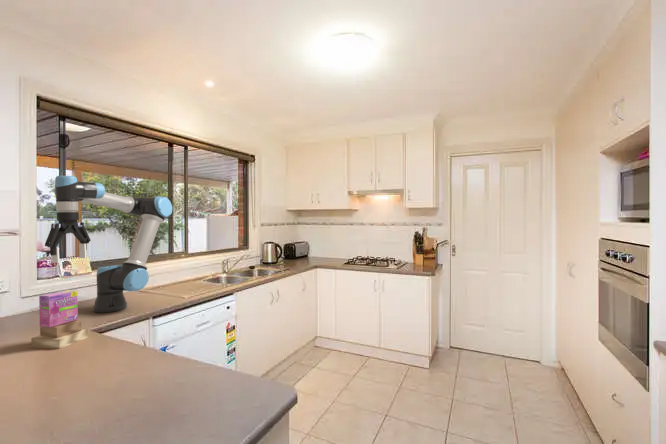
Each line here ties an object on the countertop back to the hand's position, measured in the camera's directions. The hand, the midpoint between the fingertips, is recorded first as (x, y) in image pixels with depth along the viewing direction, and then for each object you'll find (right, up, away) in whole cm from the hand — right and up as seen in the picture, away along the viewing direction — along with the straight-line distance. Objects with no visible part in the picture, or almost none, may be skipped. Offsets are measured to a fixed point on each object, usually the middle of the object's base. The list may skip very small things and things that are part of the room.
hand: (70, 260), depth 146 cm
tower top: (+9, -27, -16) cm, 32 cm away
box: (+9, -23, -16) cm, 29 cm away
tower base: (+9, -31, -16) cm, 36 cm away
